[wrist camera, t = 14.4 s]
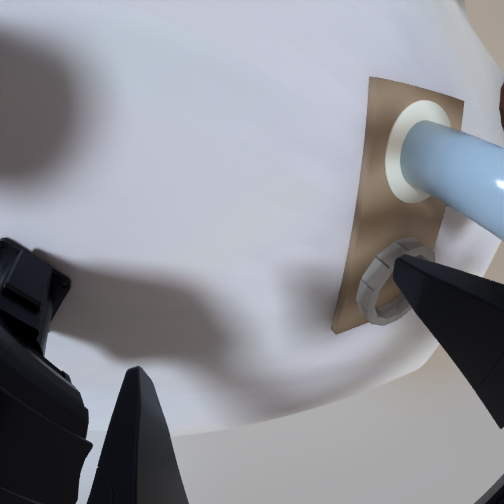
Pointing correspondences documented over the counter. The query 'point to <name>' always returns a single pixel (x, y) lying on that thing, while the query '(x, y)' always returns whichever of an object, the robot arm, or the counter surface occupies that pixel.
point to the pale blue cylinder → (457, 172)
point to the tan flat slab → (390, 204)
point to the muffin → (502, 105)
